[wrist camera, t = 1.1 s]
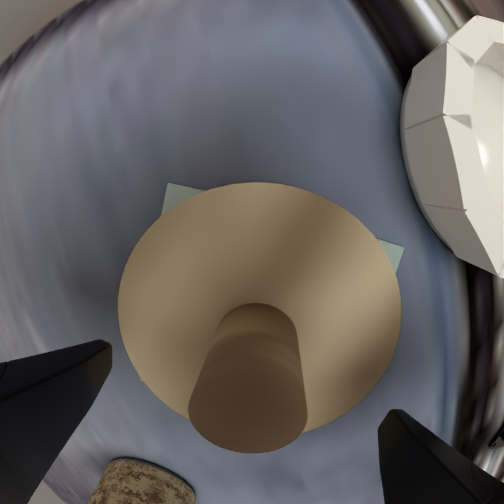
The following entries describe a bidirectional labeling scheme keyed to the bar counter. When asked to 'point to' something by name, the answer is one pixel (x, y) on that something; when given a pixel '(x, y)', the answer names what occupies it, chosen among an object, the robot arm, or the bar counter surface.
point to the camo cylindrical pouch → (140, 485)
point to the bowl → (460, 141)
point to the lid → (259, 313)
